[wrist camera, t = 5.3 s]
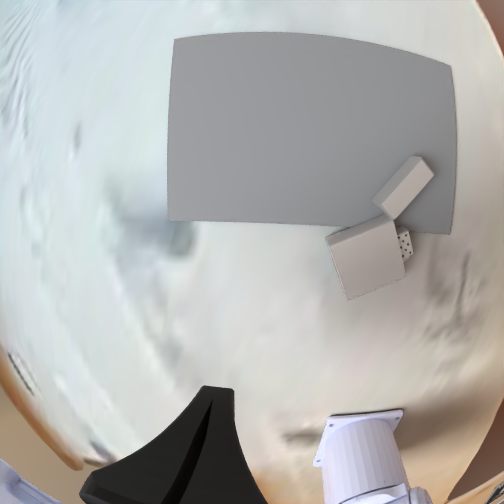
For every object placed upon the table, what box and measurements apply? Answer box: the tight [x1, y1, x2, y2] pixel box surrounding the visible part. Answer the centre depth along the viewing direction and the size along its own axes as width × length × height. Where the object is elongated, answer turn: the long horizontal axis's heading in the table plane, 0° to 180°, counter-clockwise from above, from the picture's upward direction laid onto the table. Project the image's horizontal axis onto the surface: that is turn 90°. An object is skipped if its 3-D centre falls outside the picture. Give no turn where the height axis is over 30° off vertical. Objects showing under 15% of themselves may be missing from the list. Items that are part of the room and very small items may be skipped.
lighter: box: [325, 156, 434, 300], centre depth 16 cm, size 7×2×8 cm
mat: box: [167, 32, 456, 235], centre depth 16 cm, size 13×20×1 cm, turn 89°
